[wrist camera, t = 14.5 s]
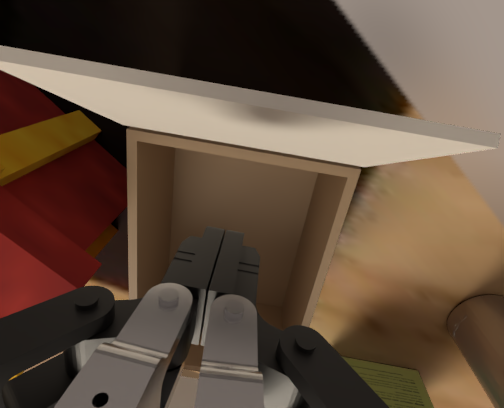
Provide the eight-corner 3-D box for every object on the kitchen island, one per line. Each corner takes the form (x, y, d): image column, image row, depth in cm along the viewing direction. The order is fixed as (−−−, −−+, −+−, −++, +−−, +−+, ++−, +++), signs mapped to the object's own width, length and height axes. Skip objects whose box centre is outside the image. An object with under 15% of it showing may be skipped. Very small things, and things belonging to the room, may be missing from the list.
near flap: (364, 167, 24) (366, 160, 24) (497, 148, 11) (500, 133, 11) (122, 125, 23) (123, 118, 23) (-33, 55, 11) (-30, 40, 11)
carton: (334, 132, 35) (361, 169, 24) (286, 308, 47) (289, 386, 36) (172, 103, 35) (126, 128, 24) (163, 287, 46) (130, 360, 36)
